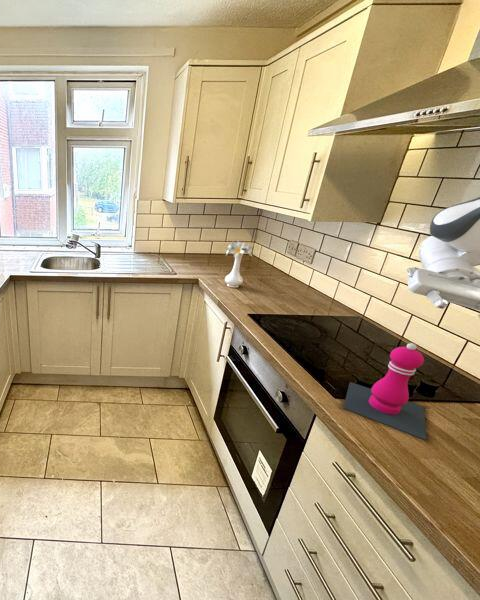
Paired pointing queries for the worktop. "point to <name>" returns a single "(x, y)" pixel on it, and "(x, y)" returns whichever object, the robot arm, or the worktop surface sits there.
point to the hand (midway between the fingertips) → (464, 312)
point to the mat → (405, 420)
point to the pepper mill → (396, 380)
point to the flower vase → (236, 262)
